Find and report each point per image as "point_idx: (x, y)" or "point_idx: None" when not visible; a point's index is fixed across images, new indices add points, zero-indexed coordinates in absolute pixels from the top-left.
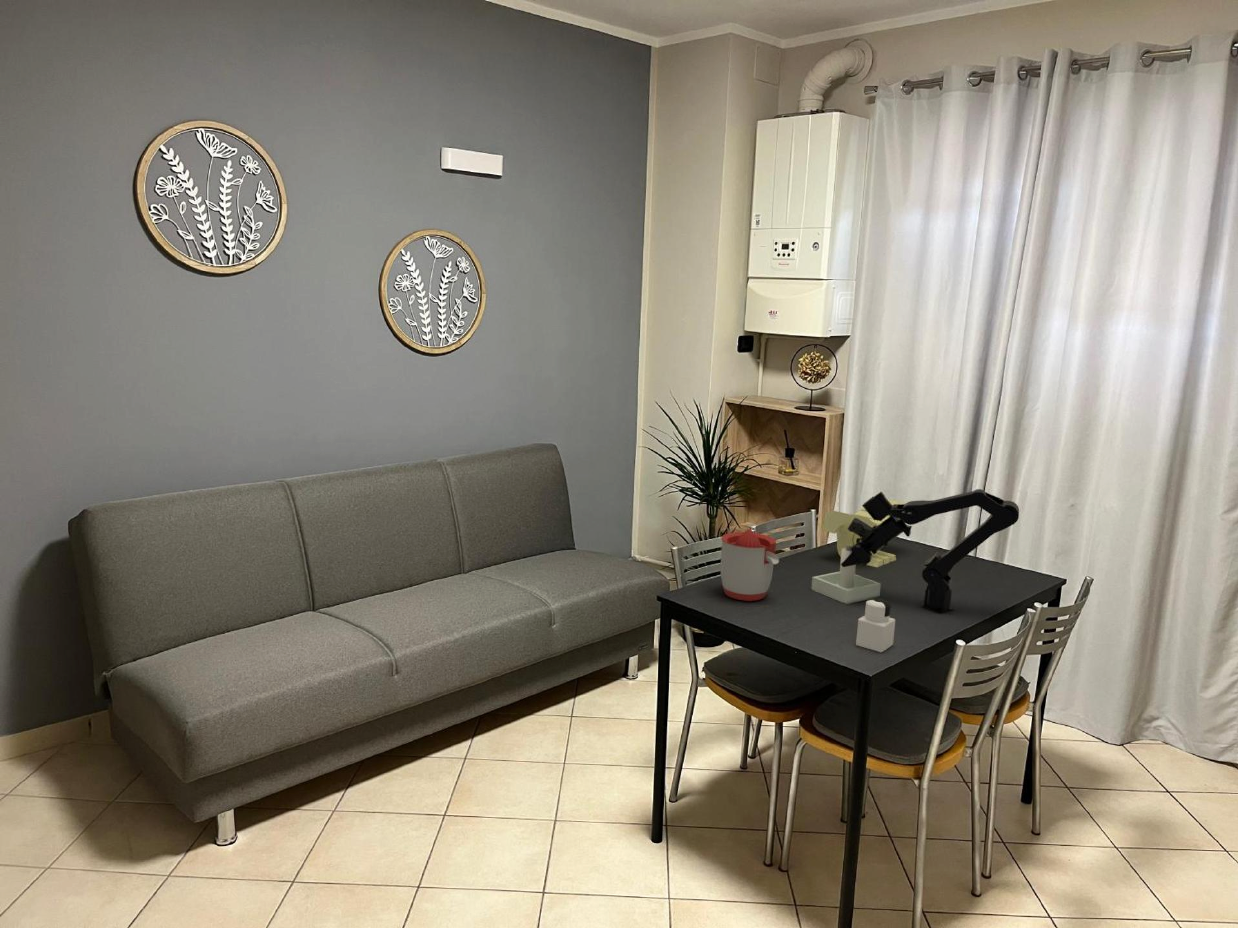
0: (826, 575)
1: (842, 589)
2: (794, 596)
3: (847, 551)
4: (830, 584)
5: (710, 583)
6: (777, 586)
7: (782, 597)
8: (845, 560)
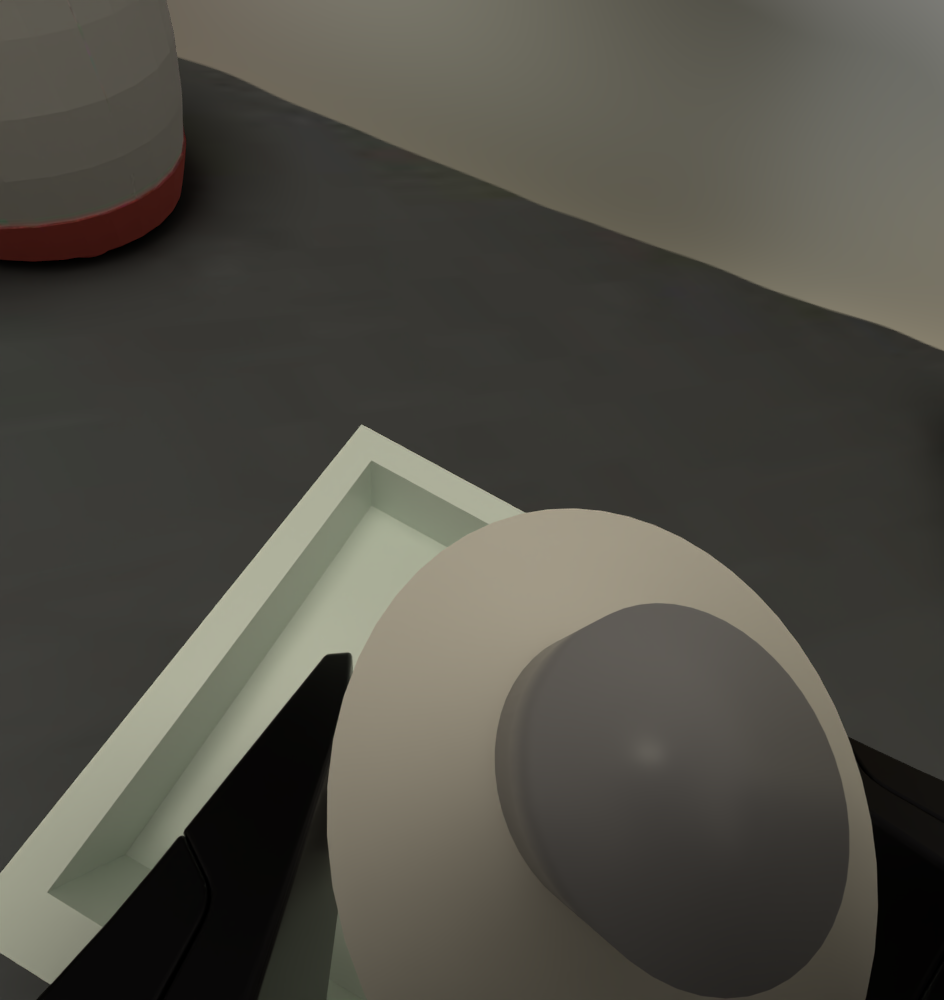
0: (482, 517)
1: (56, 810)
2: (143, 413)
3: (365, 766)
4: (209, 618)
5: (201, 79)
6: (318, 305)
7: (84, 353)
8: (253, 753)
